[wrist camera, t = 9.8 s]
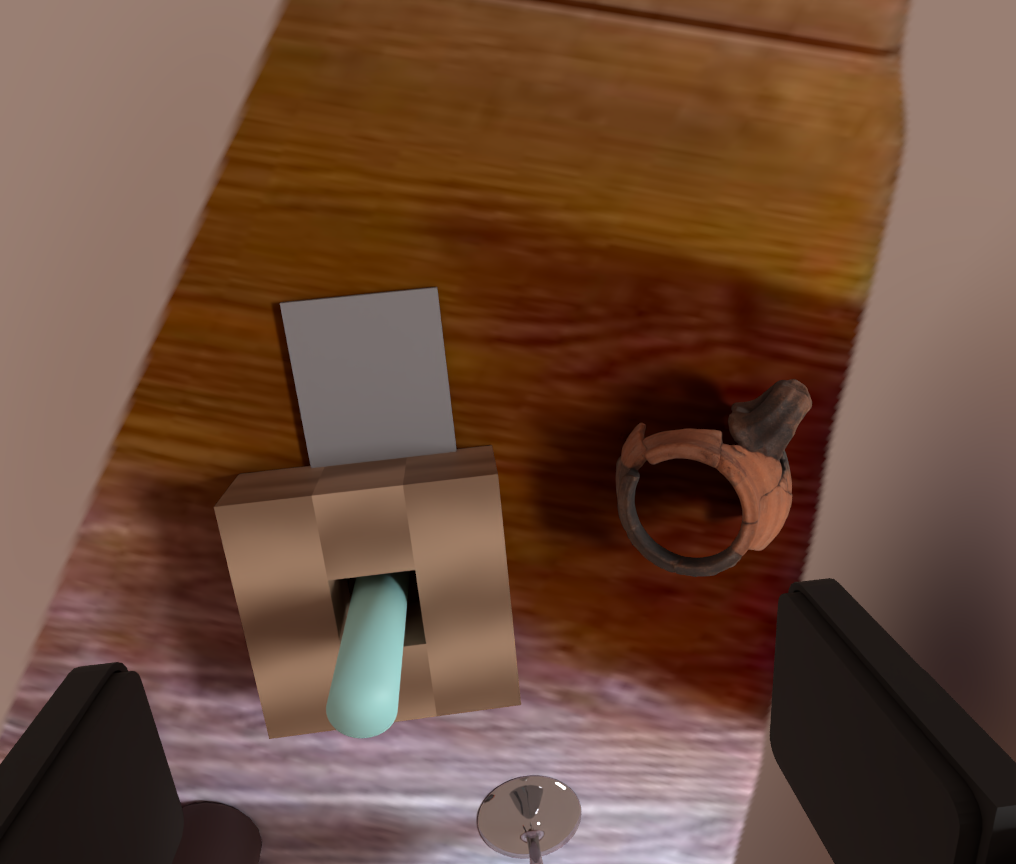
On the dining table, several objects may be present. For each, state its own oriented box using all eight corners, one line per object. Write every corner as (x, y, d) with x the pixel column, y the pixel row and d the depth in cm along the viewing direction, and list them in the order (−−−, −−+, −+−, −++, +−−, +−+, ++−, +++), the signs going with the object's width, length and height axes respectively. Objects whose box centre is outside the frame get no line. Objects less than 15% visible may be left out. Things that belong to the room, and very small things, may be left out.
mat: (281, 302, 36) (279, 303, 36) (437, 286, 37) (436, 287, 36) (315, 482, 39) (314, 485, 39) (458, 465, 40) (458, 468, 39)
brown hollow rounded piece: (740, 555, 44) (716, 626, 37) (613, 469, 46) (568, 521, 39) (867, 401, 38) (867, 451, 31) (715, 310, 40) (683, 337, 33)
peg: (354, 550, 41) (320, 684, 29) (406, 544, 41) (392, 674, 29) (362, 596, 42) (332, 742, 30) (413, 589, 42) (402, 732, 30)
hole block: (238, 473, 39) (213, 507, 34) (491, 445, 39) (497, 474, 35) (286, 685, 43) (269, 738, 39) (513, 656, 44) (520, 704, 40)
